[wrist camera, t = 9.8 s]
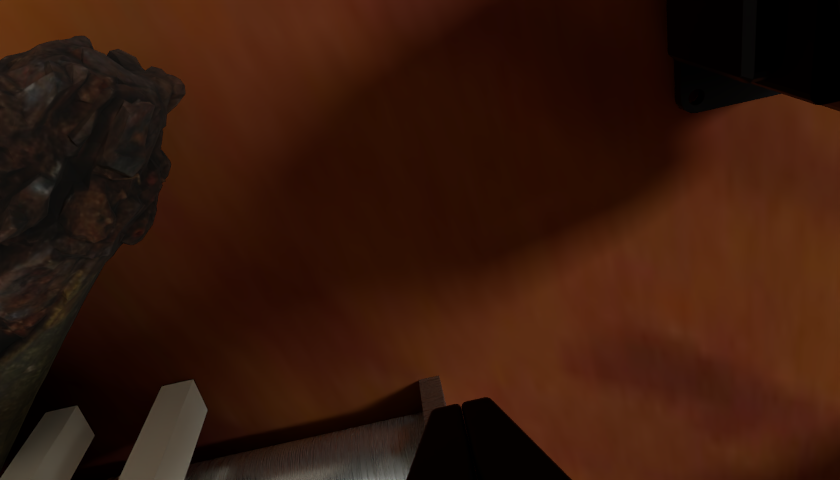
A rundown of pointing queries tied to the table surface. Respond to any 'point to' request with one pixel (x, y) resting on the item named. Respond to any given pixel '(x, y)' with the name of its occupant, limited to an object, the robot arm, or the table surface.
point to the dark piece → (69, 194)
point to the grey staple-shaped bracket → (150, 457)
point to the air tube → (333, 451)
